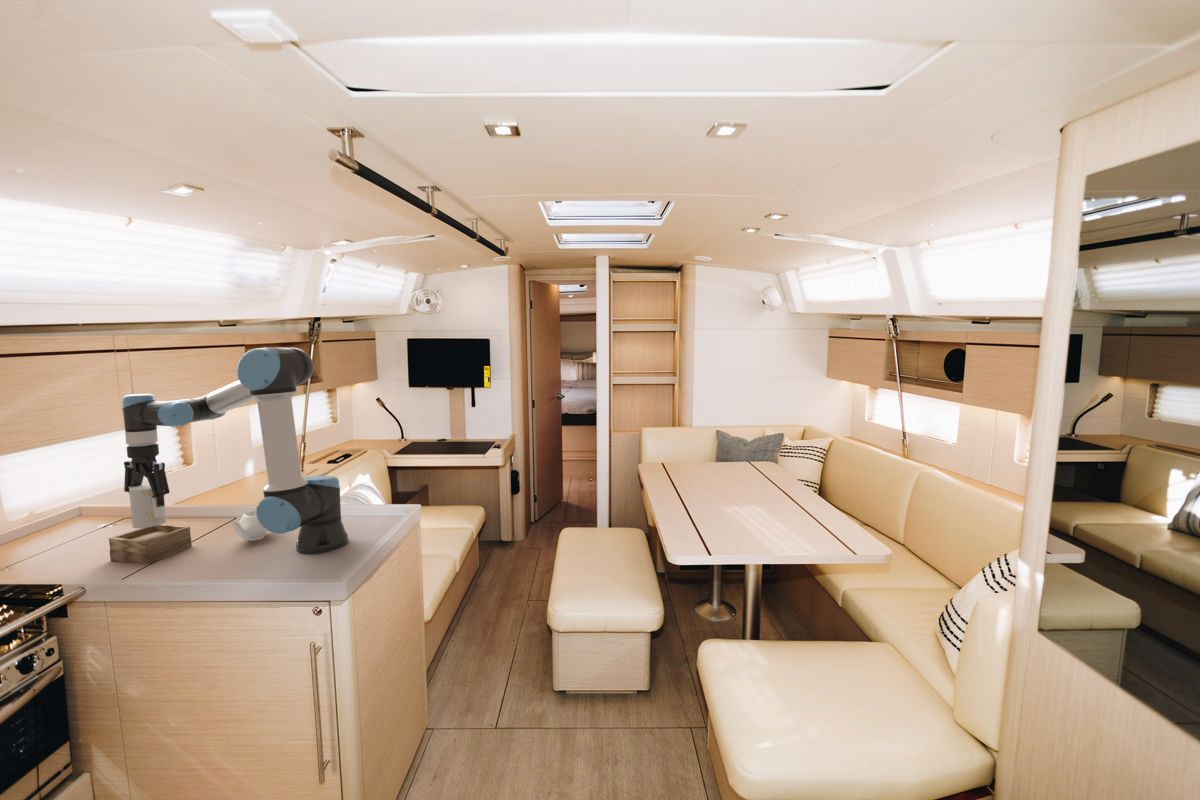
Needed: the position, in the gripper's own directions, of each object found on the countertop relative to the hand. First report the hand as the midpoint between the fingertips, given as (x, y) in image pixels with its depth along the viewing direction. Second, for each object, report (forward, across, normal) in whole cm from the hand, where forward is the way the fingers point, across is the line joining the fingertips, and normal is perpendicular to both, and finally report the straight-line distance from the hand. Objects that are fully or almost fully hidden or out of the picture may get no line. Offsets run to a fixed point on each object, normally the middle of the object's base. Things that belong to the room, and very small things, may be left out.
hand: (148, 515), depth 169 cm
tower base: (+13, 0, 0) cm, 13 cm away
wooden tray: (+9, 0, 0) cm, 9 cm away
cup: (+3, 0, 0) cm, 3 cm away
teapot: (+13, -21, -18) cm, 31 cm away
